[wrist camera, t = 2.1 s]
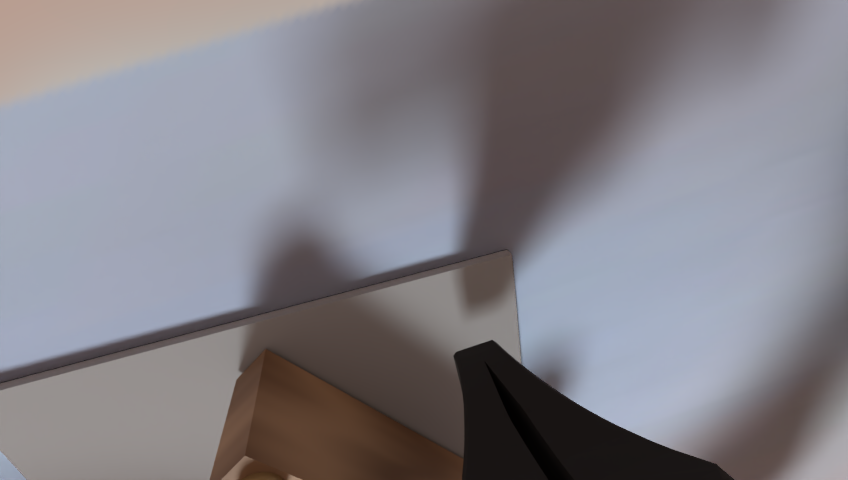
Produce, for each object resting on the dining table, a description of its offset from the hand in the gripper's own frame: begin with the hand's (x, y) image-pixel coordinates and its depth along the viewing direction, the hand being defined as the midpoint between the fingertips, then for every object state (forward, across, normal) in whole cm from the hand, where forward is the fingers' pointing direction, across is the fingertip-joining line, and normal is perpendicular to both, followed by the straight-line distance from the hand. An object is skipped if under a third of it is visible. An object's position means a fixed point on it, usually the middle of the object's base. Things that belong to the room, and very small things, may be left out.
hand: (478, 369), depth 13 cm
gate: (+2, +4, +3) cm, 5 cm away
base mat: (+2, +7, +5) cm, 9 cm away
